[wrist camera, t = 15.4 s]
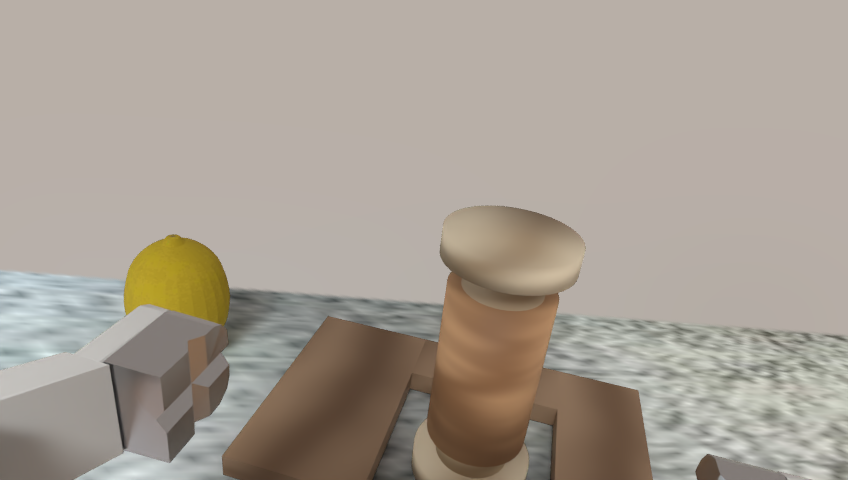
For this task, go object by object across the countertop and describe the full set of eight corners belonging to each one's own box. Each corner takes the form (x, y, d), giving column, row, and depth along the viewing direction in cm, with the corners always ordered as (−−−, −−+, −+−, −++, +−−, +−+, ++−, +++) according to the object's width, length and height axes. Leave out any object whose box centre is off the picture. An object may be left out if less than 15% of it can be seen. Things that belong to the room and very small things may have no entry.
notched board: (223, 474, 26) (222, 455, 26) (327, 331, 37) (328, 316, 37) (661, 607, 23) (670, 589, 22) (632, 405, 34) (638, 390, 33)
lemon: (249, 340, 35) (245, 227, 32) (195, 395, 31) (184, 269, 27) (174, 319, 37) (163, 208, 33) (110, 369, 32) (89, 245, 28)
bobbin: (397, 495, 26) (428, 247, 20) (426, 413, 31) (457, 196, 26) (519, 531, 25) (587, 281, 19) (528, 440, 30) (584, 221, 25)
